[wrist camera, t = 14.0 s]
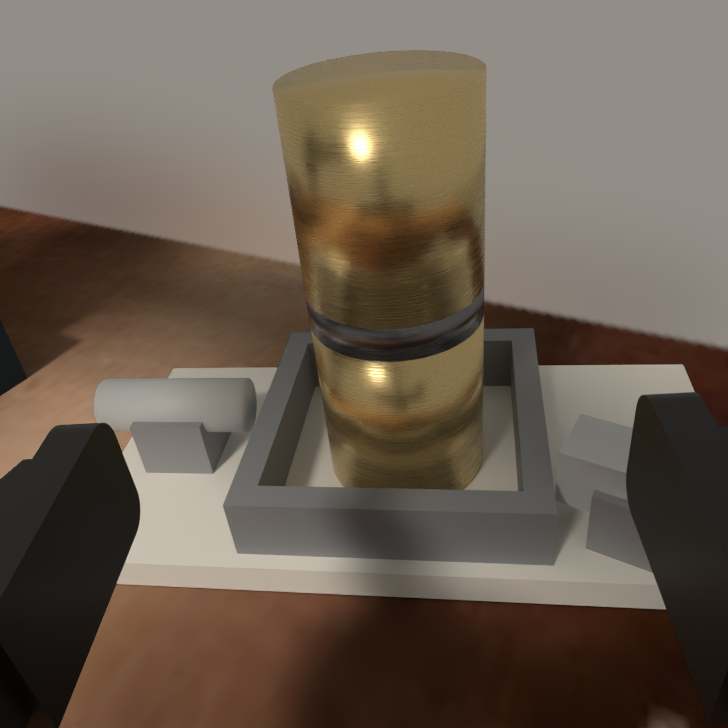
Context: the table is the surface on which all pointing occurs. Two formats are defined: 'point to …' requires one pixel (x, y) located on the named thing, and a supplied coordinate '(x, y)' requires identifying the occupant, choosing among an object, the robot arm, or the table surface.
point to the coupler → (393, 258)
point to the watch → (8, 364)
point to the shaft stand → (388, 505)
